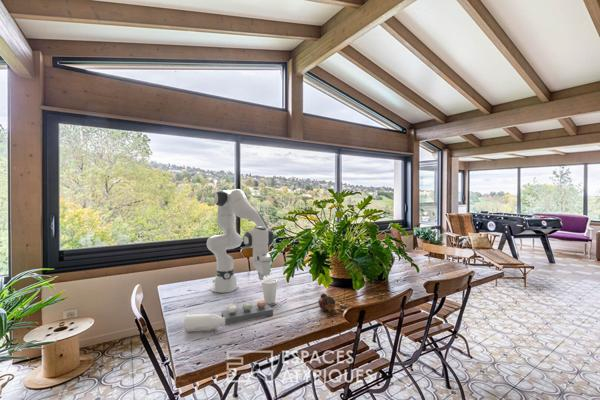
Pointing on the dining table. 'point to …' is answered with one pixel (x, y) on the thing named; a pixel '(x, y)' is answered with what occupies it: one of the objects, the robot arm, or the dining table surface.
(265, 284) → the foam cup
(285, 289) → the dining table surface
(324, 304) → the decorative turtle
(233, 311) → the white round dome
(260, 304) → the orange rounded lump
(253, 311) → the console
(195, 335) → the dining table surface
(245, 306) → the sage button
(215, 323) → the white plastic bottle
